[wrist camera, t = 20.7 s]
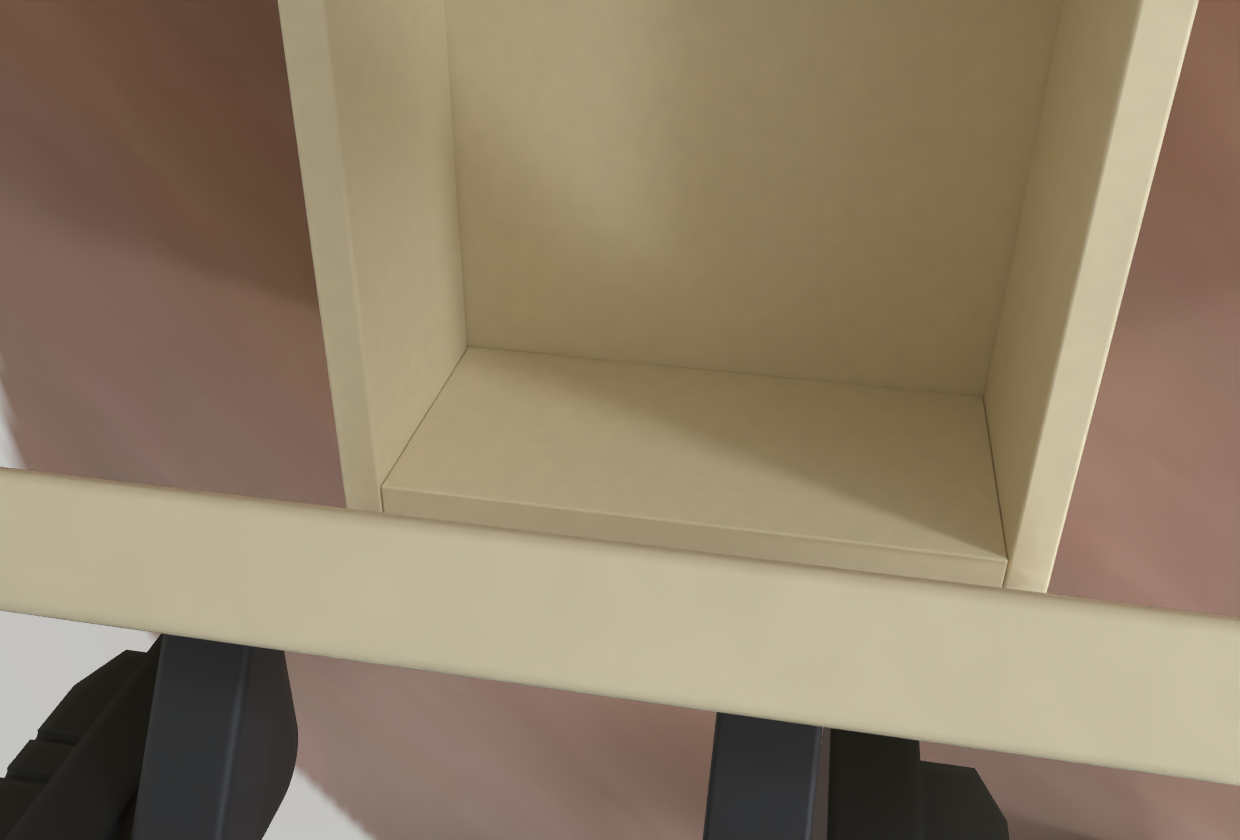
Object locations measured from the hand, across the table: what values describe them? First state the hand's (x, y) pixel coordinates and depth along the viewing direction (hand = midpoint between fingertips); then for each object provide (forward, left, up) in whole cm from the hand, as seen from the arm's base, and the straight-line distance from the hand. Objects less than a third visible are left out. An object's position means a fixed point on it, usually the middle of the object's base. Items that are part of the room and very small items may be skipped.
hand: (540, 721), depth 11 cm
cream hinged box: (-2, 0, -17) cm, 17 cm away
